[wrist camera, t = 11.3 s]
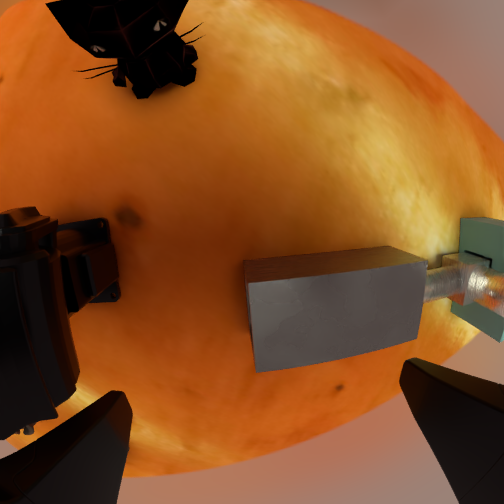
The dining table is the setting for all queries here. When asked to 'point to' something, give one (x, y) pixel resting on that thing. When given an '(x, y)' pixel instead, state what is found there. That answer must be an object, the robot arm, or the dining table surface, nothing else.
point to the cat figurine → (132, 39)
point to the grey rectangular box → (332, 304)
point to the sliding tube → (466, 282)
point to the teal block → (500, 251)
